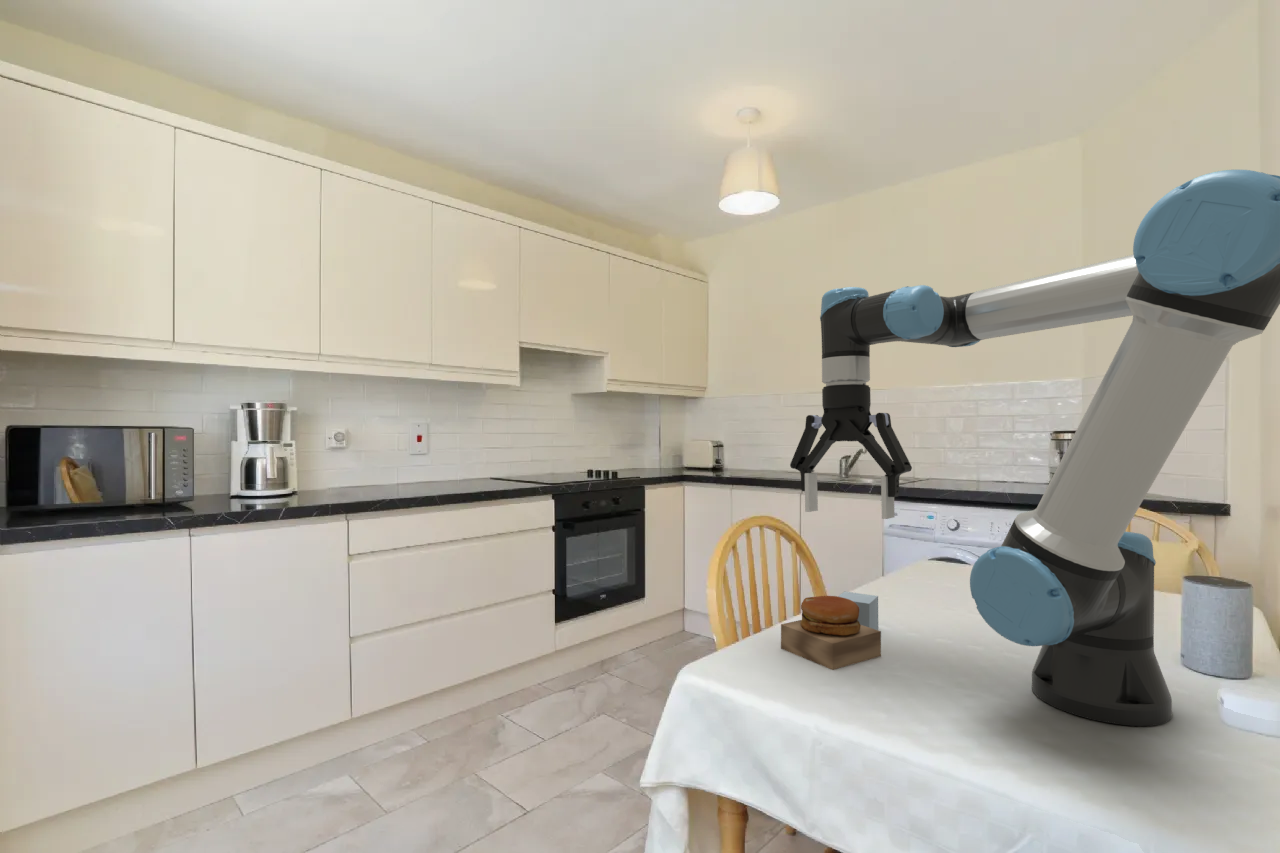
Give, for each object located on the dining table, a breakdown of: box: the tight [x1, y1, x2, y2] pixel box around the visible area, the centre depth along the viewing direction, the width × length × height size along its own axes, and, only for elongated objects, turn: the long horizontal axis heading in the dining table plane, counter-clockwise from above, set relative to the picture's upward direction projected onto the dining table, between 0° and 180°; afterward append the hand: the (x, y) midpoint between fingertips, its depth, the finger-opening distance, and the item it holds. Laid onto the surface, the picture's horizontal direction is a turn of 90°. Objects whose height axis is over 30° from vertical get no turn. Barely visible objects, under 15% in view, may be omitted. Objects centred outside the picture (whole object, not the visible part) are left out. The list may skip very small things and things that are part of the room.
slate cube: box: [838, 591, 879, 631], centre depth 115 cm, size 6×6×6 cm
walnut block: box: [780, 619, 882, 671], centre depth 105 cm, size 11×11×4 cm
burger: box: [800, 595, 861, 636], centre depth 105 cm, size 10×9×5 cm
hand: (848, 514), depth 105 cm, fingers open, 13 cm apart
